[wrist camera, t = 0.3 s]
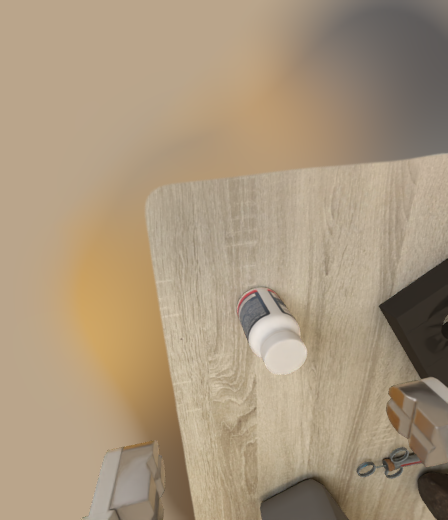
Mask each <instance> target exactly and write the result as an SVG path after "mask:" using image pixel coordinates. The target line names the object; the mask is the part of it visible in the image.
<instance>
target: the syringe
mask: <svg viewBox="0 0 448 520" xmlns="http://www.w3.org/2000/svg"><path fill="white" fill-rule="evenodd" d="M400 451H406V453H405V455H404V456H403V457H400V458H394V459H392V458H393V456H394V455H395V454H397V453H398V452H400ZM408 455H409V452H408V450H407V449H406V448H403V447H401V448H397V449H395V450H394V451H393V452H392V453H391V454H390V459H384V460H383V465H382V466H377V467H376V466H375V465H374V463H373V462H365V463H363V464H361V465H360V466H359V467H358V468H357V473H358V475H359V476H361V477H367V476H369V475H371V474H373V473H374V471H375V469H376V468H379V467H384V468H385V469H386V470H385V475H386V477H387V478H391V479H393V478H396V477H398V476H399V475H400V474H401V473H402V472H403V467H406V466H411V465H416V464H420V463H422V462H421V461H420V459H419V458H418V457H417V456H416V454H415V455H410V456H408ZM368 465H373V468H372V469H371V470H370V471H368V472H367V473H364V474H360V473H359V471H360V470H361V469H362V468H364V467H365V466H368ZM398 468H400V470H399V471H398V472H397V473H395V474H393V475H387V474H388V472H389V471H392V470H395V469H398Z"/></svg>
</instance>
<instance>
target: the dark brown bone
mask: <svg viewBox="0 0 448 520" xmlns="http://www.w3.org/2000/svg"><path fill="white" fill-rule="evenodd" d="M418 488H419V494H420V496H421V498H422V500H423V501H424V503H425V504H426V506H427V507H428V509H429V510H430V512H431V513H432V514H433V516H434V517H435V518H436V519H437V520H448V474H440V473H432V472H430V473H426V474H425V475H423V476H421V477H420V478H419V479H418Z"/></svg>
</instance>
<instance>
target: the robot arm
mask: <svg viewBox="0 0 448 520" xmlns="http://www.w3.org/2000/svg"><path fill="white" fill-rule="evenodd" d="M388 394H389V395H390V397H391V399H390V400H389V401H388V403H387V407H386V412H387V415H388V418H389V420H390V422H391V424H392V425H393V427H394V428H395V429H396V431H397V432H398V433H399V434H401V435H402V436H404V437H406V438H408V443H409V447H410V448H411V449H412V451H413V452H414V453H415V454H416V456H417V457H418V458H419V459H420V461H421V462H422V463H423V464H424V466H425V467H430V466H435V465H439V464H444V463H448V388H447V387H446V386H445V385H444V384H443V383H441V382H440V381H439V380H438V379H436V378H434V377H428V378H424V379H420V380H414V381H410V382H406V383H402V384H398V385H394V386H391V387H390V388H389V393H388ZM164 491H165V468H164V462H163V458H162V456H161V455H159V445H158V442H157V440H155V441H150V442H145V443H140V444H135V445H131V446H126V447H121V448H116V449H112V450H108V451H107V452H106V454H105V456H104V459H103V462H102V466H101V470H100V474H99V478H98V481H97V485H96V490H95V493H94V497H93V501H92V505H91V509H90V512H89V516H85V517H83V518H82V519H81V520H163V513H164V508H163V505H162V502H161V499H160V498H161V497H162V495H163V493H164Z"/></svg>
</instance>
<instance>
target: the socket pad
mask: <svg viewBox="0 0 448 520" xmlns="http://www.w3.org/2000/svg"><path fill="white" fill-rule="evenodd" d="M379 307H380V309H381V311H382V312H383V314H384V316H385V317H386V319H387V321H388V323H389V324H390V326H391V328H392V330H393V331H394V333H395V335H396V336H397V338H398V340H399V342H400V343H401V345H402V347H403V348H404V350H405V352H406V354H407V355H408V357H409V359H410V360H411V362H412V364H413V365H414V367H415V369H416V371H417V372H418V374H419V376H420V377H421V379H424V378H428V377H434V378H436V379H438V380H439V381H440V382H441V383H443V384H444V385H445V386H446V387H447V388H448V322H447V323H446V324H444V325H442V324H443V322H444V320H445V317H446V316H447V315H448V259H446V260H445V261H443V262H442V263H441V264H439V265H438V266H436V267H435V268H433V269H432V270H430V271H429V272H428V273H426V274H425V275H423V276H422V277H420V278H419V279H418V280H416V281H415V282H413V283H412V284H410V285H409V286H407V287H406V288H405V289H403V290H402V291H400V292H399V293H397V294H396V295H394V296H393V297H392V298H390V299H389V300H387V301H386V302H384V303H383V304H381V305H380V306H379Z"/></svg>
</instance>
